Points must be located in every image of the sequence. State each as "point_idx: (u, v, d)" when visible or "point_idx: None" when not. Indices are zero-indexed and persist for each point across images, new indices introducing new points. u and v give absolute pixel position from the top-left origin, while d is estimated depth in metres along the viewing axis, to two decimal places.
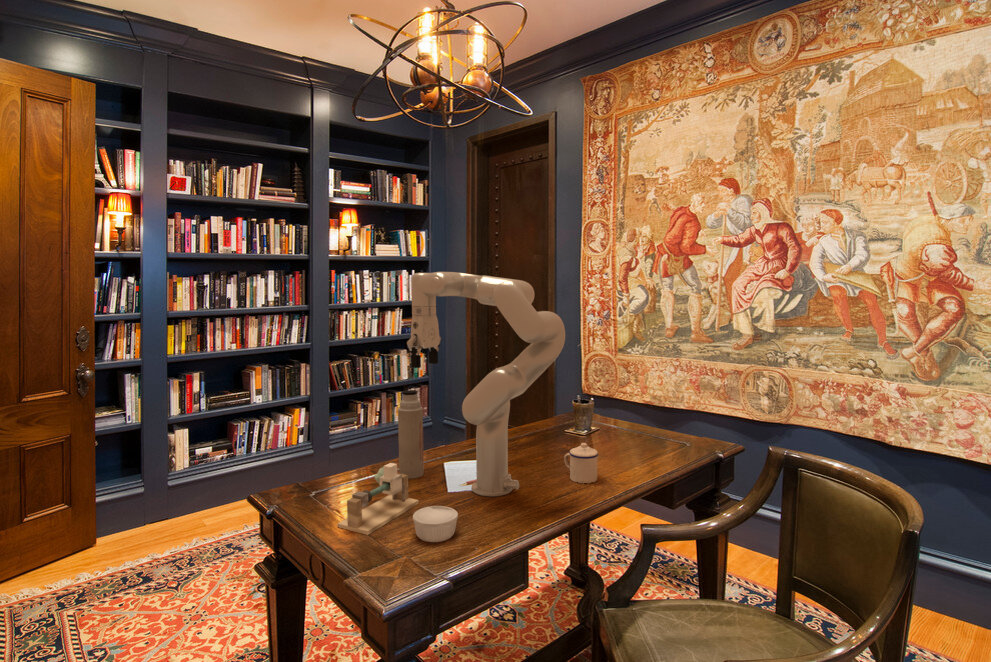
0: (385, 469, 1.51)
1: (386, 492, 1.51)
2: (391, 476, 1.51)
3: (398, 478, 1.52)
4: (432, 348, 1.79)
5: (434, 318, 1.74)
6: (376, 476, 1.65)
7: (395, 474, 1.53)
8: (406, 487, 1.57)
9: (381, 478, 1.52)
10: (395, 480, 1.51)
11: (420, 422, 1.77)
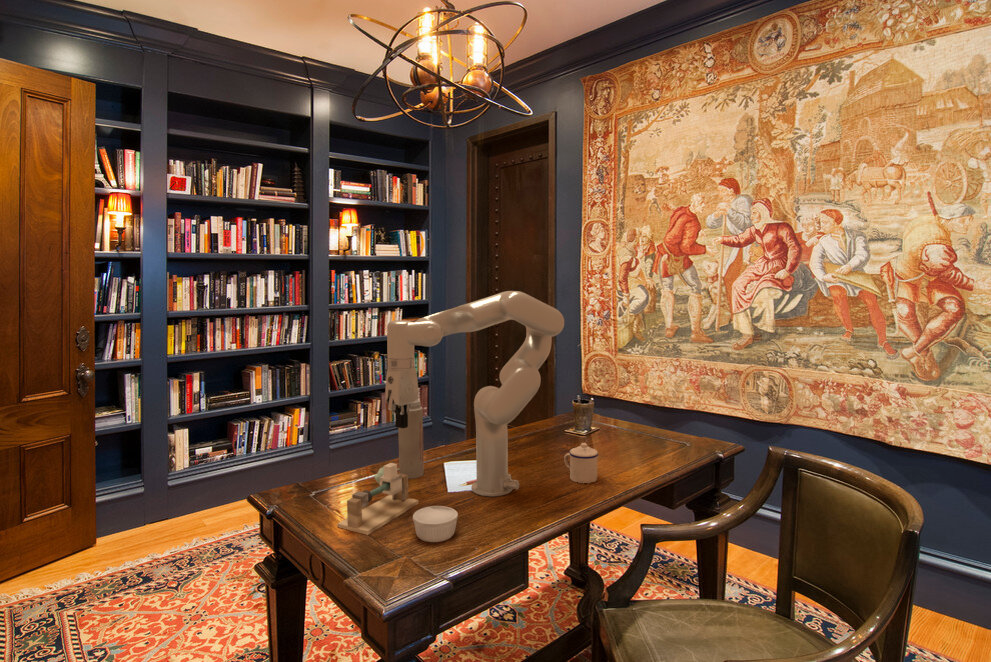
0: (385, 469, 1.51)
1: (386, 492, 1.51)
2: (391, 476, 1.51)
3: (398, 478, 1.52)
4: None
5: (412, 371, 1.56)
6: (376, 476, 1.65)
7: (395, 474, 1.53)
8: (406, 487, 1.57)
9: (381, 478, 1.52)
10: (395, 480, 1.51)
11: (420, 422, 1.77)
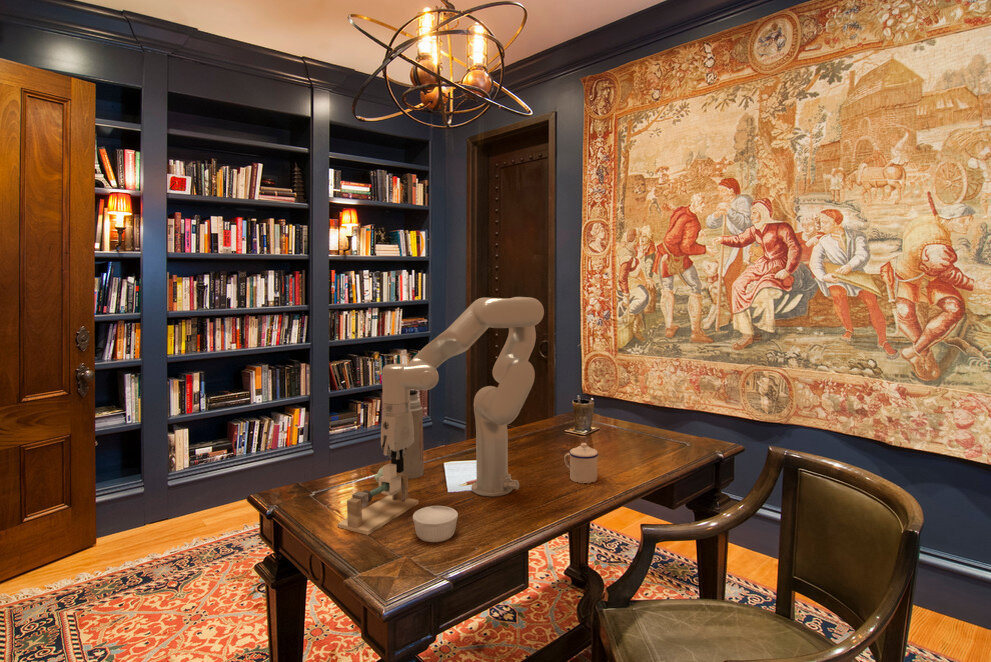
0: (384, 469, 1.51)
1: (385, 492, 1.51)
2: (390, 476, 1.51)
3: (397, 478, 1.52)
4: (398, 452, 1.56)
5: (408, 415, 1.55)
6: (376, 476, 1.65)
7: (394, 474, 1.52)
8: (406, 487, 1.57)
9: (380, 478, 1.51)
10: (394, 480, 1.50)
11: (420, 422, 1.77)
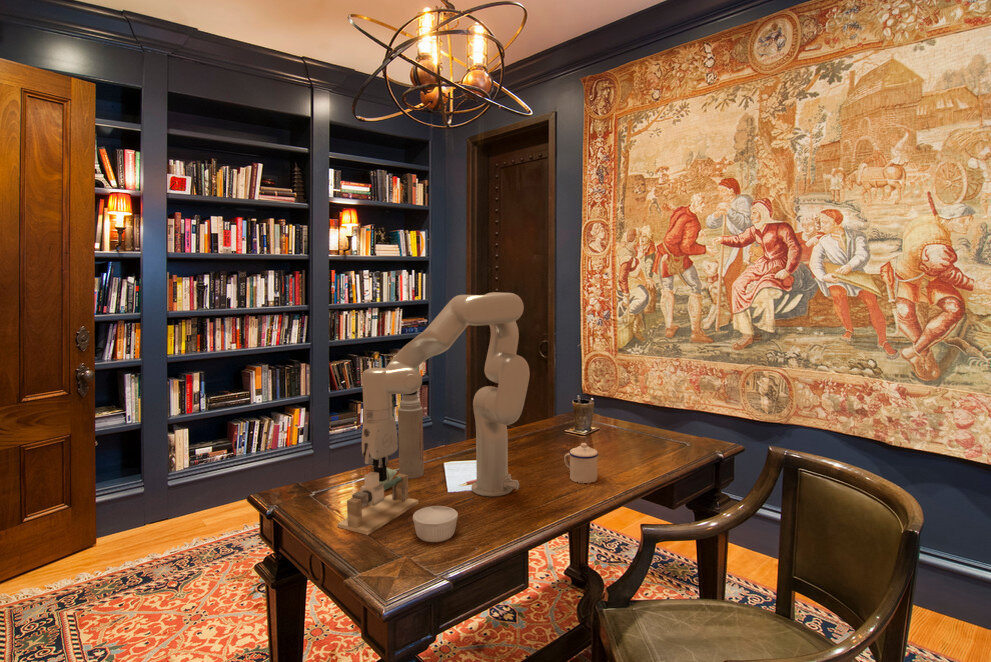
0: (366, 478, 1.44)
1: None
2: (372, 486, 1.44)
3: (380, 488, 1.45)
4: None
5: (390, 421, 1.48)
6: None
7: (377, 483, 1.45)
8: (406, 487, 1.57)
9: (362, 488, 1.44)
10: (376, 490, 1.44)
11: (420, 422, 1.77)
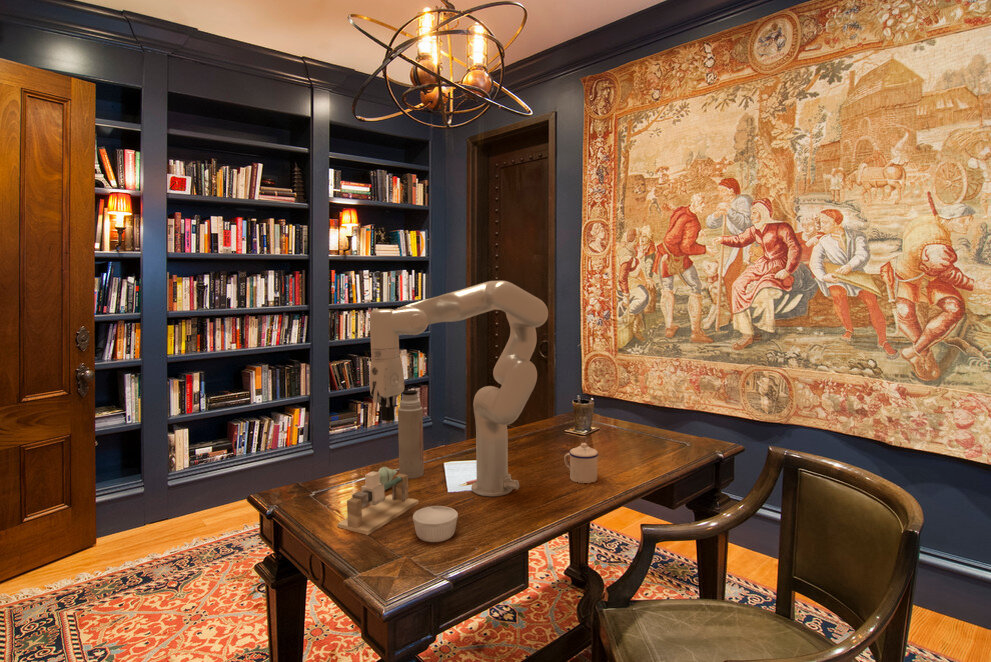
0: (367, 478, 1.44)
1: None
2: (373, 485, 1.44)
3: (380, 487, 1.45)
4: None
5: (397, 361, 1.50)
6: None
7: (377, 483, 1.46)
8: (406, 487, 1.57)
9: (362, 487, 1.45)
10: (377, 489, 1.44)
11: (420, 422, 1.77)
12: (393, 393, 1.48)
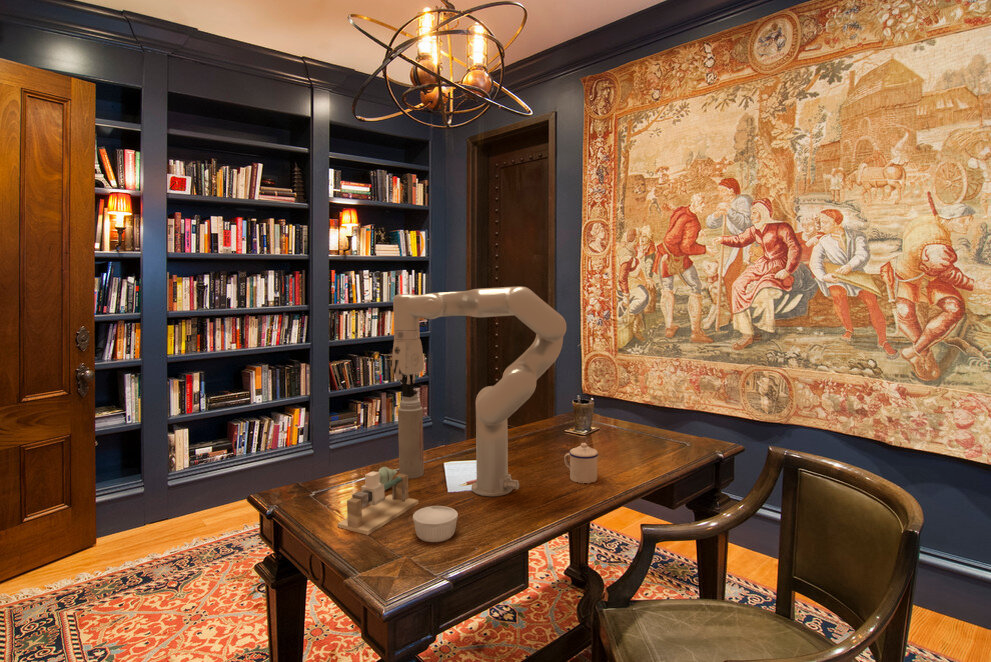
0: (367, 478, 1.44)
1: None
2: (373, 485, 1.44)
3: (380, 487, 1.45)
4: None
5: (418, 342, 1.63)
6: None
7: (377, 483, 1.46)
8: (406, 487, 1.57)
9: (362, 487, 1.45)
10: (377, 489, 1.44)
11: (420, 422, 1.77)
12: (413, 371, 1.61)
